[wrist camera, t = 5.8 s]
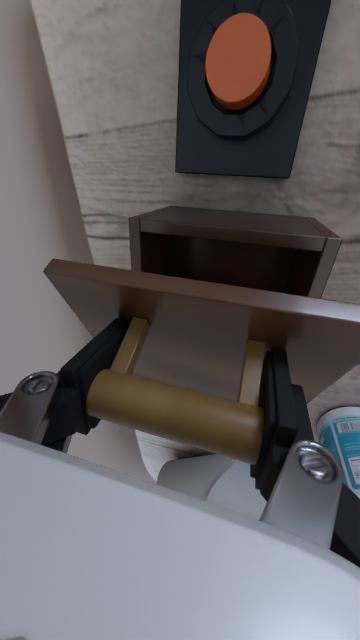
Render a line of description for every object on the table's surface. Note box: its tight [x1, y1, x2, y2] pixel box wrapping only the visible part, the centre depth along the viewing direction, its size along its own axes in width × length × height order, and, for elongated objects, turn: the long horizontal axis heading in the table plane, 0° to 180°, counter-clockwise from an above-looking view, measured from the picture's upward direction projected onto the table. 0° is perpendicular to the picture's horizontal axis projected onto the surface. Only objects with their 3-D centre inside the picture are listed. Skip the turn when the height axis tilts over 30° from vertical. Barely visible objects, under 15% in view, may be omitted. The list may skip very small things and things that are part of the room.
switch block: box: [175, 0, 331, 179], centre depth 17 cm, size 11×9×4 cm
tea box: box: [129, 206, 342, 299], centre depth 22 cm, size 15×13×9 cm
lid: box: [43, 259, 360, 465], centre depth 14 cm, size 15×13×5 cm
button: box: [205, 13, 271, 110], centre depth 15 cm, size 4×4×2 cm
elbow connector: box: [157, 454, 267, 520], centre depth 36 cm, size 18×11×20 cm
